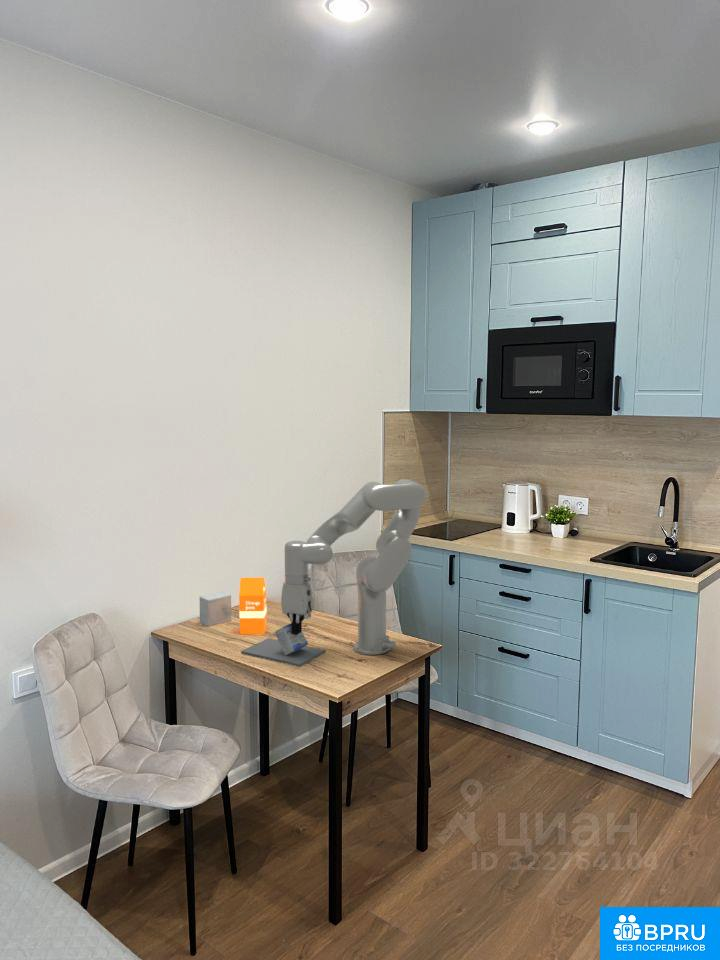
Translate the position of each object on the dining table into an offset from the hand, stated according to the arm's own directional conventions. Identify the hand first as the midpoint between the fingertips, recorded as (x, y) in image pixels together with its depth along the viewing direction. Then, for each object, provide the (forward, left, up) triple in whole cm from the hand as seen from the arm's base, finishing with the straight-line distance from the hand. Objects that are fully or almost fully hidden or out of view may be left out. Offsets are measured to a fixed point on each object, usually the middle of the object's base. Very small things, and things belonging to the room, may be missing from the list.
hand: (296, 633), depth 237 cm
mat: (+6, 0, -8) cm, 10 cm away
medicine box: (0, 0, -6) cm, 6 cm away
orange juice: (+29, -13, -8) cm, 33 cm away
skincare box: (+48, -14, -8) cm, 50 cm away
